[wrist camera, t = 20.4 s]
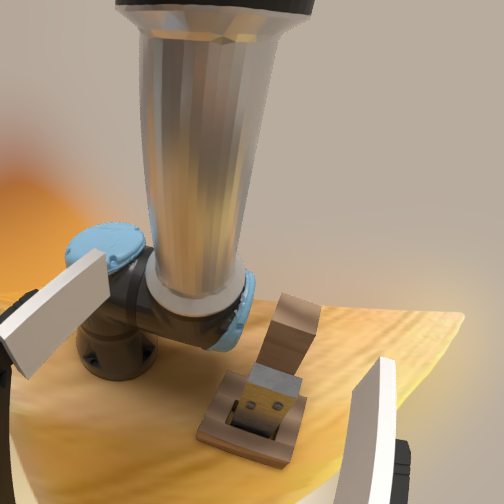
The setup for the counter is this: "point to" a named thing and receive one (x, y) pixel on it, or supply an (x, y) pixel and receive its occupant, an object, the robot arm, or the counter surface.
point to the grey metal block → (265, 400)
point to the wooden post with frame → (231, 388)
